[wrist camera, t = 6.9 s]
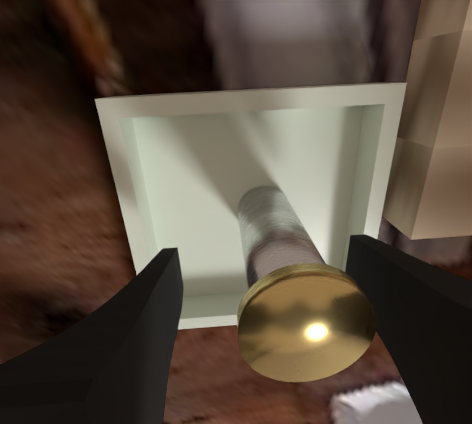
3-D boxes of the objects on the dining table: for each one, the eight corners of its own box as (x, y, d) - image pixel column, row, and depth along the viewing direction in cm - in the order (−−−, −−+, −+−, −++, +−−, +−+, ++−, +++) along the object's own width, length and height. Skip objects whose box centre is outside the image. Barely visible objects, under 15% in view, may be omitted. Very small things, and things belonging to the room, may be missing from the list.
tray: (346, 287, 20) (362, 314, 17) (158, 302, 19) (150, 331, 17) (376, 82, 14) (406, 82, 12) (114, 96, 14) (94, 98, 11)
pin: (295, 239, 17) (363, 377, 9) (229, 242, 17) (239, 385, 9) (300, 175, 15) (390, 277, 7) (227, 177, 15) (237, 284, 7)
